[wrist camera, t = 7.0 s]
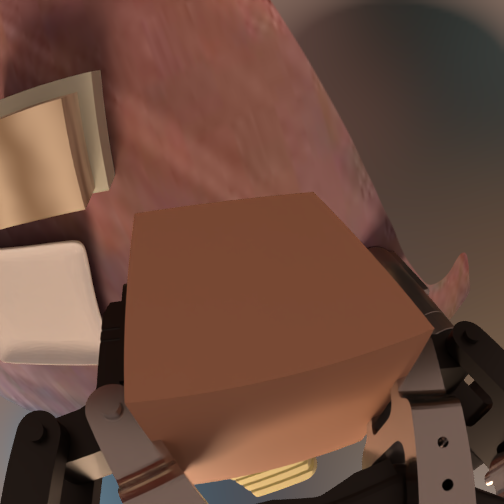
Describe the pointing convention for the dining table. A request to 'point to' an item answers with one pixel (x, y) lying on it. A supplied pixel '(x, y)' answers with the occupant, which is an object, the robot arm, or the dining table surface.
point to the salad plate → (48, 305)
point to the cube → (260, 334)
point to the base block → (90, 114)
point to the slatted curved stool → (278, 477)
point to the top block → (43, 162)
